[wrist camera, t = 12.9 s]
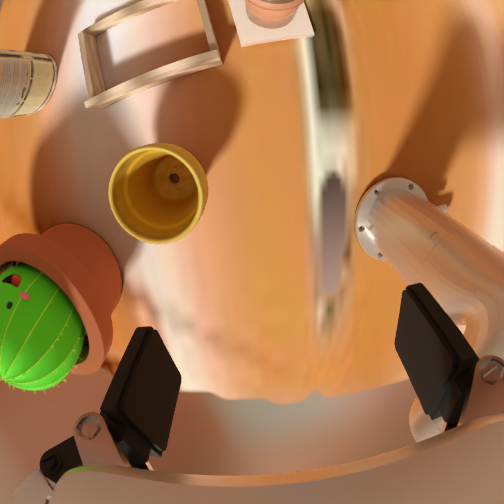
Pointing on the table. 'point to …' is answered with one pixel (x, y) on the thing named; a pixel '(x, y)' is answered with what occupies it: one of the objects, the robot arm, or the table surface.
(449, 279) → the robot arm
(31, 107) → the coffee can
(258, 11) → the terracotta pot
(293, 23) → the stone tile
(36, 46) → the table surface
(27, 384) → the potted cactus
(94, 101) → the frame
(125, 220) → the plant pot
